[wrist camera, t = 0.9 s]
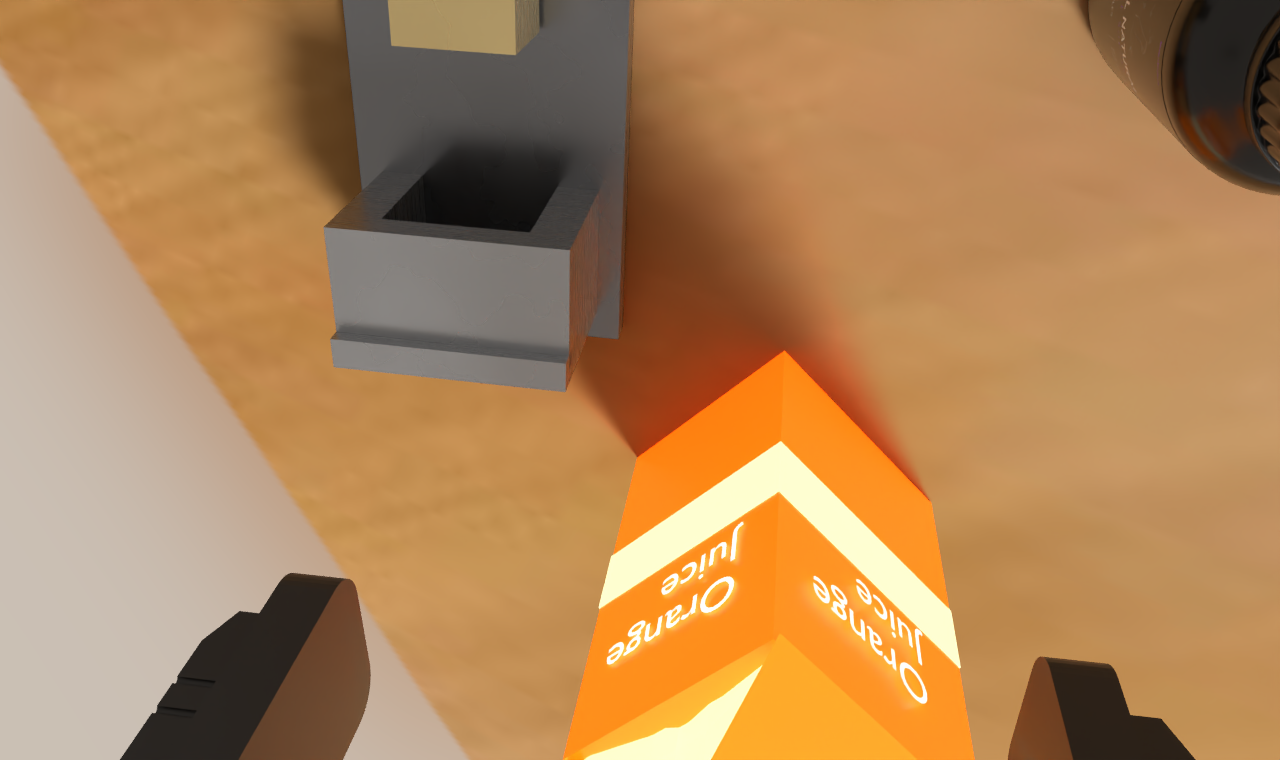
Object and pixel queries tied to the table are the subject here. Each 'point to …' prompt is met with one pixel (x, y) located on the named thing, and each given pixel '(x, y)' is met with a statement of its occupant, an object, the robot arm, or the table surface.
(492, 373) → the rail
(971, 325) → the table surface
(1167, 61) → the supplement bottle
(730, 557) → the orange juice
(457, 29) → the block
